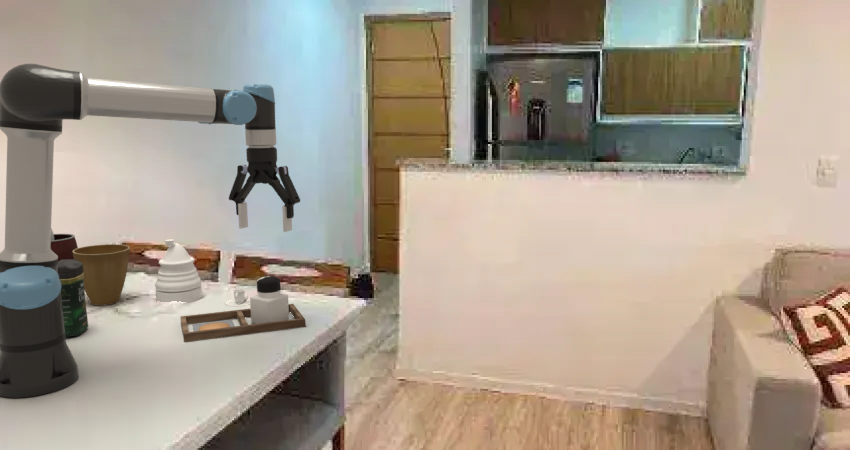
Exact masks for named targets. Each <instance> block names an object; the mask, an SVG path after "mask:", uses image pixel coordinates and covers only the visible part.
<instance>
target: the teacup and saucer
mask: <svg viewBox="0 0 850 450" xmlns="http://www.w3.org/2000/svg"><path fill="white" fill-rule="evenodd" d="M248 300H250V298H249V295H248V294H247V293H246V291H245V289H244V288H238V289H236V288H235V289H234V290H233V299H230V300H227V301H225V303H224V304H225V306H229V307H242V306H243V307H245V306H249V305H250V303H249V302H248V303H249V305H248V303H245V305H244V302H245V301H248ZM231 302H235V303H236V305H235V304H231ZM238 303H240V304H238ZM237 304H238V305H237Z"/></svg>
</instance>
